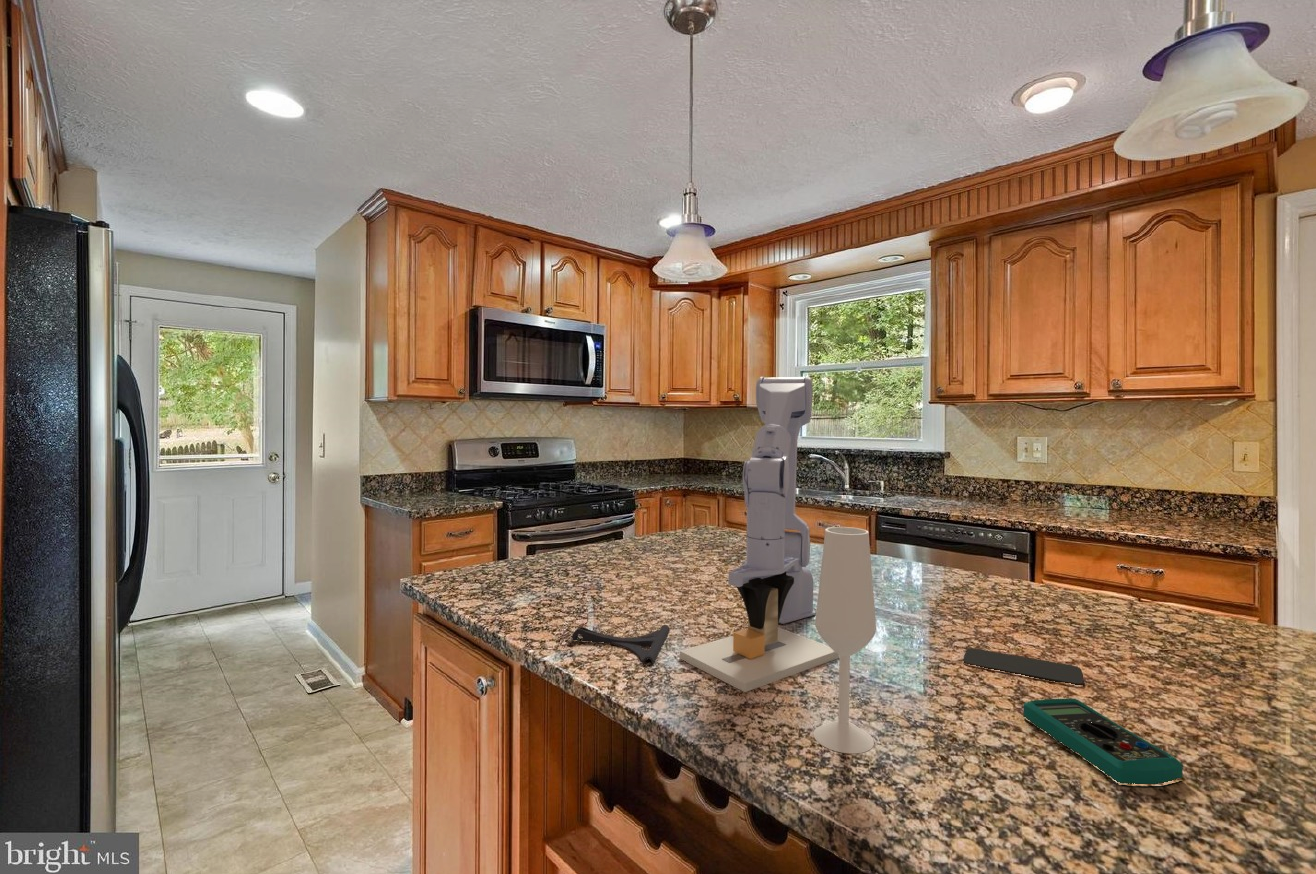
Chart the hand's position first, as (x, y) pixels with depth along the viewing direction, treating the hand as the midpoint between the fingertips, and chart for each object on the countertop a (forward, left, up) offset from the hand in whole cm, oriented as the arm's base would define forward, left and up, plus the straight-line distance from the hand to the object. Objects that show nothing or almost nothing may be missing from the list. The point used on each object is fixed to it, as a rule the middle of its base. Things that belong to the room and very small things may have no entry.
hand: (764, 624), depth 94 cm
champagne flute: (+10, +22, -5) cm, 25 cm away
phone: (-28, +25, -6) cm, 38 cm away
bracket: (+15, -18, -6) cm, 24 cm away
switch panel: (+1, 0, -5) cm, 5 cm away
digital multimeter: (-12, +40, -6) cm, 42 cm away
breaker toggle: (+3, 0, -4) cm, 5 cm away
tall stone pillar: (0, 0, -2) cm, 3 cm away
